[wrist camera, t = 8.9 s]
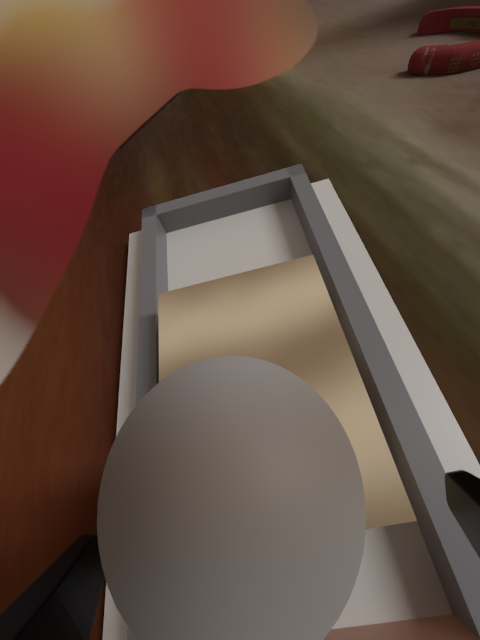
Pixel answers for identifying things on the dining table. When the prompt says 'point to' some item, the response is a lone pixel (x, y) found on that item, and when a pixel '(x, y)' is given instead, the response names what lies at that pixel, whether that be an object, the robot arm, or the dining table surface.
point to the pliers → (447, 56)
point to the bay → (375, 370)
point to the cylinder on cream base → (246, 467)
